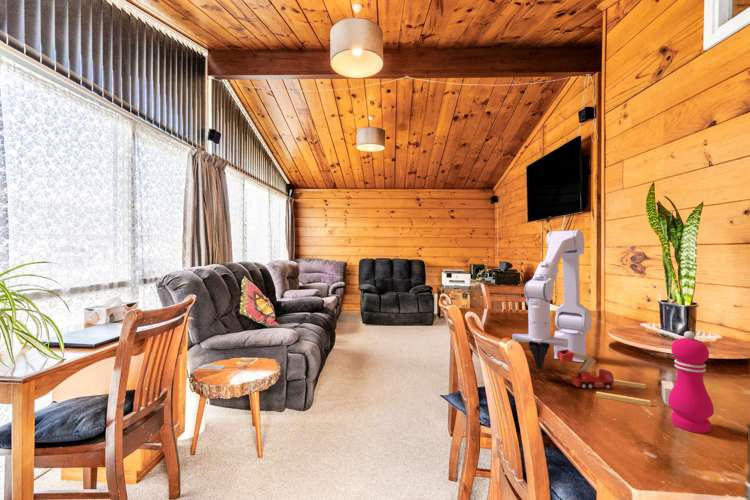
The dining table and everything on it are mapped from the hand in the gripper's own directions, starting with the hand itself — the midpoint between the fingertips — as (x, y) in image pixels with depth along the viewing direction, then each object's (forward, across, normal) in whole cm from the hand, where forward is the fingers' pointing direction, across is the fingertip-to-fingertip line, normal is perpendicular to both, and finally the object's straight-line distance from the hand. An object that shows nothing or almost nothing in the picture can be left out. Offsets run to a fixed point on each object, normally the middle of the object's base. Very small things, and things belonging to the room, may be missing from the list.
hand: (539, 368), depth 104 cm
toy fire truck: (+3, +12, 0) cm, 12 cm away
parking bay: (+3, +22, 0) cm, 22 cm away
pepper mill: (+3, +31, -14) cm, 34 cm away
